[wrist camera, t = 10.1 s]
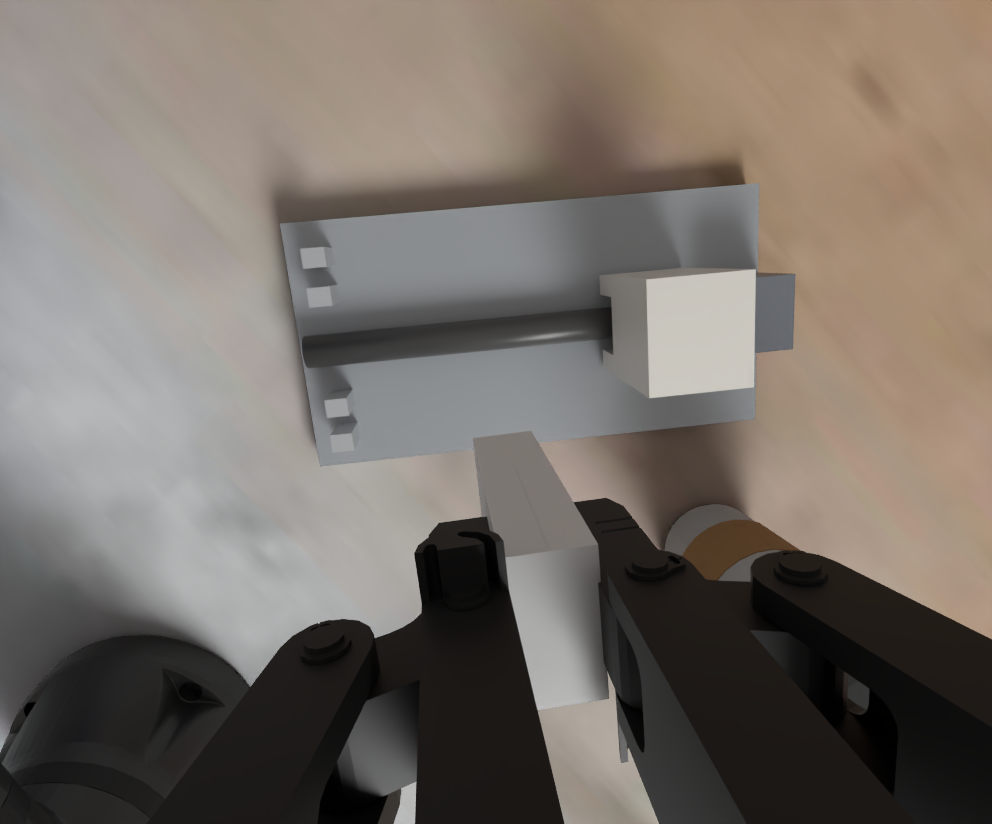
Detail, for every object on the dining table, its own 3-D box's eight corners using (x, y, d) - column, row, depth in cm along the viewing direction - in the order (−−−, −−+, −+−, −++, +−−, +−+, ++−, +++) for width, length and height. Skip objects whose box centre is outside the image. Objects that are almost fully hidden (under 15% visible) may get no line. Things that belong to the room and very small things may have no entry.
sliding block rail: (324, 458, 38) (305, 490, 33) (286, 225, 35) (258, 218, 29) (743, 413, 40) (789, 437, 35) (746, 186, 36) (798, 173, 31)
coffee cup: (625, 528, 41) (725, 673, 27) (733, 463, 41) (895, 576, 26) (680, 619, 43) (801, 801, 29) (784, 559, 43) (960, 712, 28)
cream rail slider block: (603, 367, 36) (649, 398, 28) (599, 275, 35) (646, 279, 27) (684, 359, 37) (753, 387, 29) (684, 267, 35) (755, 269, 27)
